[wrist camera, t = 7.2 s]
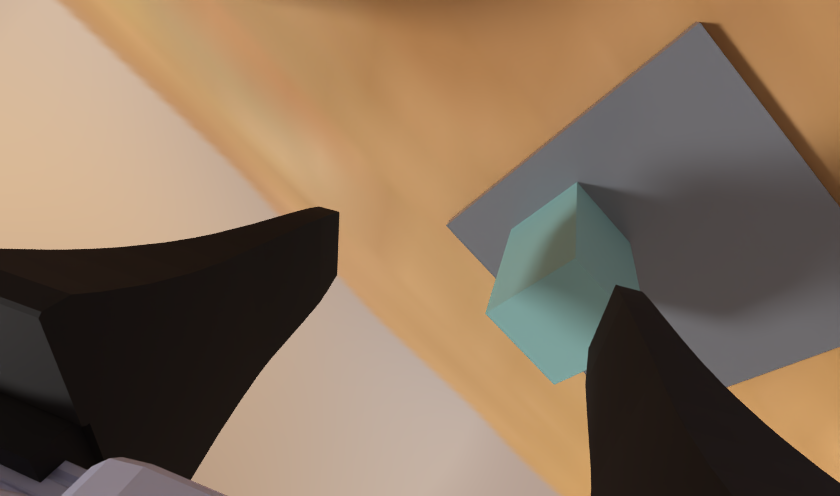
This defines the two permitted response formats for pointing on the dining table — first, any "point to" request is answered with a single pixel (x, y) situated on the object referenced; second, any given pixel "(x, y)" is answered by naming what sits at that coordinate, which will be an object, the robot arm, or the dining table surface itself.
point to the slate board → (693, 209)
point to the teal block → (560, 281)
